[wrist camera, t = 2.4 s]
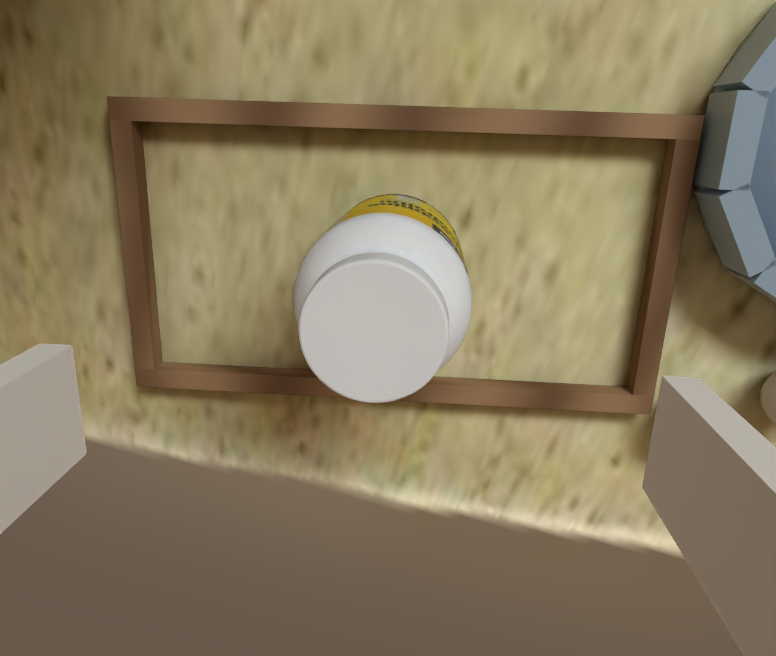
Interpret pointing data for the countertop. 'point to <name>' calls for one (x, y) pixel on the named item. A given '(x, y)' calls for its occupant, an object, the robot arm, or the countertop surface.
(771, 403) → the pebble
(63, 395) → the robot arm
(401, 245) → the pill bottle
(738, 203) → the bowl
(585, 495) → the countertop surface
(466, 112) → the open rectangular frame
